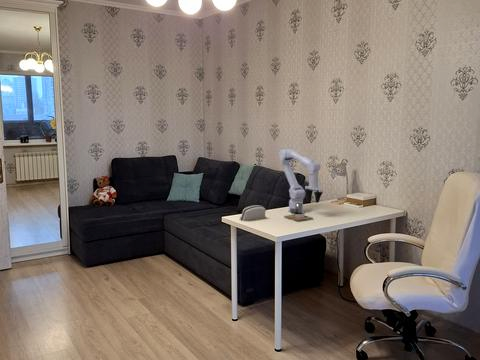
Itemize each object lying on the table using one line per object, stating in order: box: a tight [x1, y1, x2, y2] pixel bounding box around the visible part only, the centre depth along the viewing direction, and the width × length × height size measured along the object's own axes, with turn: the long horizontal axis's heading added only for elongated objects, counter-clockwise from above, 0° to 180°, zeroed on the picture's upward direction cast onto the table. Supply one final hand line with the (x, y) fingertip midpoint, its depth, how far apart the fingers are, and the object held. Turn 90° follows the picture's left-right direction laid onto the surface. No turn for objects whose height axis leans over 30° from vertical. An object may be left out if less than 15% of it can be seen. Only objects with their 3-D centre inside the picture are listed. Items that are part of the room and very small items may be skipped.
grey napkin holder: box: [239, 204, 266, 222], centre depth 270 cm, size 17×5×10 cm, turn 121°
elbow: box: [290, 203, 302, 214], centre depth 269 cm, size 8×4×8 cm, turn 123°
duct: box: [283, 212, 314, 223], centre depth 270 cm, size 14×12×4 cm
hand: (313, 201), depth 277 cm, fingers open, 7 cm apart
